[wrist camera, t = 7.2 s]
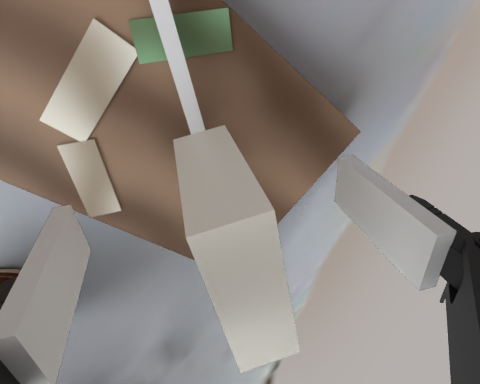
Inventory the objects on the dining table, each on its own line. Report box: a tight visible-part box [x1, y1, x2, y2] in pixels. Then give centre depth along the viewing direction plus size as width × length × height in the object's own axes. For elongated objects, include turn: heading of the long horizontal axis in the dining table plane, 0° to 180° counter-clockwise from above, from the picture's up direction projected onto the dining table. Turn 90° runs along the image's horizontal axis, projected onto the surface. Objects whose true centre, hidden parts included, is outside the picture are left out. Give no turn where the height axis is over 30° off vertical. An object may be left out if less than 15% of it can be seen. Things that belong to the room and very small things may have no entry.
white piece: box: [149, 0, 300, 373], centre depth 13 cm, size 2×12×12 cm, turn 11°
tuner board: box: [0, 0, 361, 260], centre depth 18 cm, size 15×28×3 cm, turn 51°
